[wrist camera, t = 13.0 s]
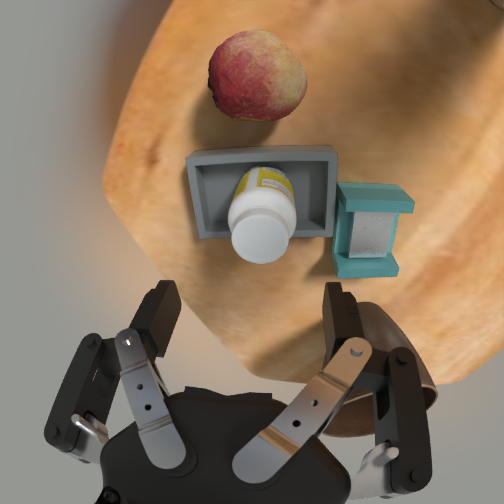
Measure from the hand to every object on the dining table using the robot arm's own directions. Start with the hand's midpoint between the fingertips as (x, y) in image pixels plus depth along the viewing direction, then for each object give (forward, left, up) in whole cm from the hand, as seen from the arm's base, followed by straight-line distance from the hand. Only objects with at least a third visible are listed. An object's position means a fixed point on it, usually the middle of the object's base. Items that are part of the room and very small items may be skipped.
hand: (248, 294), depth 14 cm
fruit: (-11, 0, -16) cm, 20 cm away
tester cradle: (+4, +11, -16) cm, 20 cm away
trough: (0, 0, -16) cm, 16 cm away
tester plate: (+4, +11, -14) cm, 18 cm away
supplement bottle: (0, 0, -16) cm, 16 cm away
